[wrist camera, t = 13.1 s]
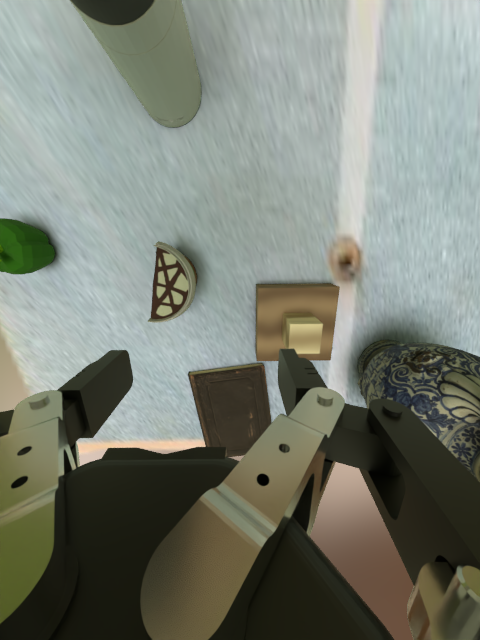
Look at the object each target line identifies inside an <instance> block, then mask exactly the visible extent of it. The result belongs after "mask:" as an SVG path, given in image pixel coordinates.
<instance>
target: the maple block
mask: <svg viewBox="0 0 480 640" xmlns="http://www.w3.org/2000/svg"><path fill="white" fill-rule="evenodd" d="M322 328H323V324H322V323H321V322H320V321H319V320H318V319H317V318H316V317H315V316H314V315H313V314H312V313H283V324H282V341H283V343H284V345H285V348H286V349H295V351H296V353H297V354H320V346H321V337H322Z"/></svg>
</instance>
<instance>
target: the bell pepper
mask: <svg viewBox="0 0 480 640" xmlns="http://www.w3.org/2000/svg"><path fill="white" fill-rule="evenodd" d="M54 256H55V252H54V249H53V246H52V245H50V244H48V238H47V236H46V235H45V234H44V233H43V232H42V231H40V230H38V229H36V228H34V227H32V226H30V225H28V224H25V223H22V222H20V221H17V220H11V219H0V271H1V272H7V273H11V274H26V273H32V272H34V271H37V270H39V269H41V268H43V267H45V266H47V265H48V264H50V263H51V262H52V261H53V259H54Z"/></svg>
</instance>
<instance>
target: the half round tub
mask: <svg viewBox="0 0 480 640" xmlns="http://www.w3.org/2000/svg"><path fill="white" fill-rule="evenodd" d="M154 246H156V247H157V251H156V265H155V274H154V281H153V296H152V310H151V318H150V319H149V320H148V322H164V321H168V320H171V319H174V318H176V317H178V316H180V315H181V314H182V313H184V312H185V311H186V310H187V309H188V308H189V306H190V304H191V303H192V301H193V298H194V295H195V288H196V283H197V273H196V270H195V267H194V265H193V264H192V262H191V261H190V260H189V259H188V258H187V257H186V256H184V255H183V254H181V253H180V252H179V251H178V250H177V249H175V248H173V247H172V246H170V245H168V244H166V243H163V242H157V243H156V245H154Z"/></svg>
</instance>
